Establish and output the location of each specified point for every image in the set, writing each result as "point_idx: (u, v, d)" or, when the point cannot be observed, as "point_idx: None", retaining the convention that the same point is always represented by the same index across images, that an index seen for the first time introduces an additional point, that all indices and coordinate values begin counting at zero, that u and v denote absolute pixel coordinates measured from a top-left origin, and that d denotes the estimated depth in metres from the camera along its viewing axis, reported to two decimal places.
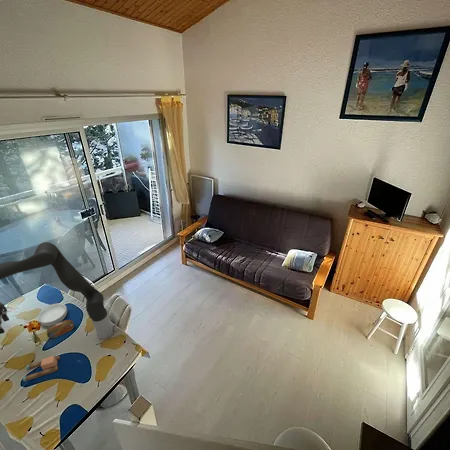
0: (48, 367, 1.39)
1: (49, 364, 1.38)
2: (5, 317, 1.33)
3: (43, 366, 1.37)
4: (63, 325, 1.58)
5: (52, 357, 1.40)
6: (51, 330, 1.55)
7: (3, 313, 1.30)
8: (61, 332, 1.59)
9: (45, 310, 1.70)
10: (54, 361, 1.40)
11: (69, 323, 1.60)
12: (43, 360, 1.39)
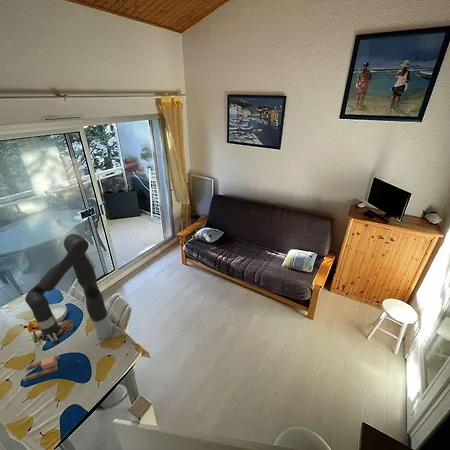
0: (48, 367, 1.39)
1: (49, 364, 1.38)
2: None
3: (43, 366, 1.37)
4: (63, 325, 1.58)
5: (52, 357, 1.40)
6: None
7: None
8: None
9: None
10: (54, 361, 1.40)
11: (69, 323, 1.60)
12: (43, 360, 1.39)
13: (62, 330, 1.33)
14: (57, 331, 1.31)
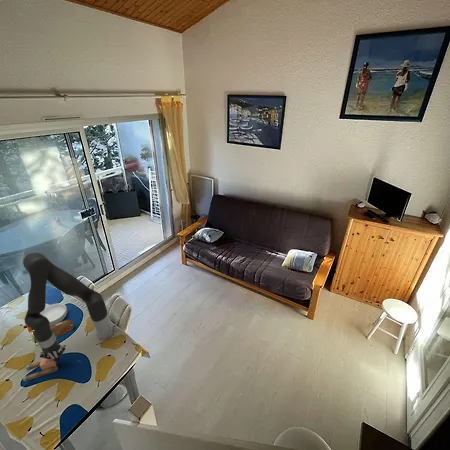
0: (47, 367, 1.39)
1: (48, 364, 1.38)
2: None
3: (42, 366, 1.37)
4: (63, 325, 1.58)
5: None
6: (51, 330, 1.55)
7: None
8: (61, 332, 1.59)
9: (45, 310, 1.70)
10: (53, 361, 1.40)
11: (69, 323, 1.60)
12: (42, 360, 1.39)
13: (62, 348, 1.38)
14: (57, 349, 1.37)
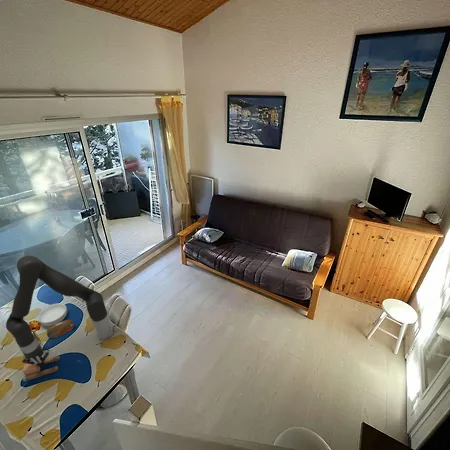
0: (30, 372, 1.36)
1: (31, 369, 1.35)
2: None
3: (25, 371, 1.34)
4: (63, 325, 1.58)
5: None
6: (51, 330, 1.55)
7: None
8: (61, 332, 1.59)
9: (45, 310, 1.70)
10: (37, 366, 1.37)
11: (69, 323, 1.60)
12: (25, 365, 1.36)
13: (46, 353, 1.35)
14: (40, 354, 1.34)
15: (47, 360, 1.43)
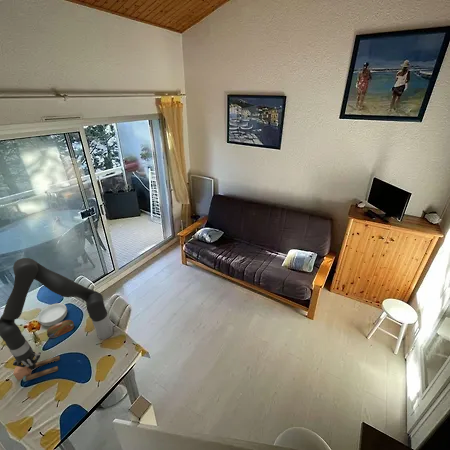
0: (21, 375, 1.35)
1: (22, 372, 1.34)
2: None
3: (16, 374, 1.33)
4: (63, 325, 1.58)
5: None
6: (51, 330, 1.55)
7: None
8: (61, 332, 1.59)
9: (45, 310, 1.70)
10: (28, 369, 1.36)
11: (69, 323, 1.60)
12: (16, 368, 1.35)
13: (37, 355, 1.34)
14: (32, 357, 1.32)
15: (47, 360, 1.43)
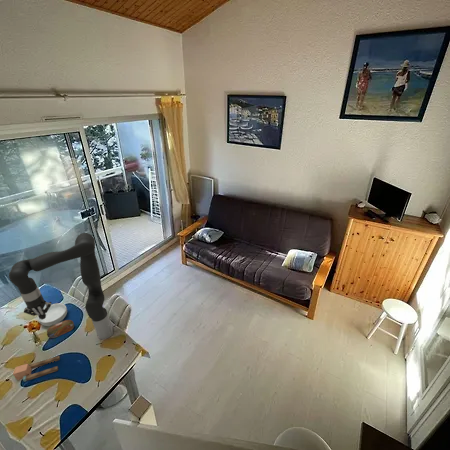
0: (21, 375, 1.35)
1: (22, 372, 1.34)
2: None
3: (16, 374, 1.33)
4: (63, 325, 1.58)
5: (25, 365, 1.36)
6: (51, 330, 1.55)
7: None
8: (61, 332, 1.59)
9: None
10: (27, 369, 1.36)
11: (69, 323, 1.60)
12: (16, 368, 1.35)
13: (48, 304, 1.33)
14: (42, 305, 1.32)
15: (47, 360, 1.43)
